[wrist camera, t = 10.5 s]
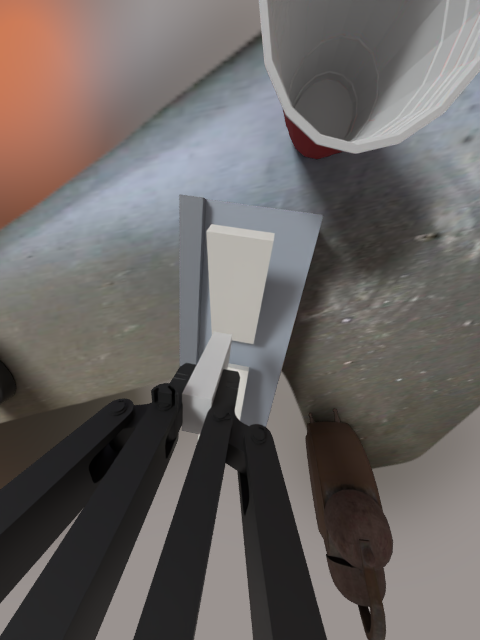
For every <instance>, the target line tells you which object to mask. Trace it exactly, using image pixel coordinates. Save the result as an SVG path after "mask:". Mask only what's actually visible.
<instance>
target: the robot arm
mask: <svg viewBox="0 0 480 640" xmlns="http://www.w3.org/2000/svg"><path fill="white" fill-rule="evenodd" d="M231 343H232V335H231V334H225V333H219V332H213V334H212V336H211V338H210V340H209V342H208V344H207V346H206V348H205V350H204V352H203V354H202V356H201V358H200V360H199V362H198V363H197V365H196V364H191V363H185V364H183V365H182V366H180V368H179V369H178V371H177V372H176V374H175V376H174V378H173V379H172V380H171V382H170V383H164V384H159V385H158V386H156V387H154V388H153V389H152V390H151V393H152V403H150V404H144V405H134V404H133V402H132V401H131V400H129V399H118V400H115V401H112V402H111V403H109V404H108V405H107V406H105V407H104V408H103V409H101V410H100V411H99V412H98V413H96V414H95V415H94V416H93V417H91V418H90V419H89V420H87V421H86V422H85V423H84V424H82V425H81V426H80V427H79V428H77V429H76V430H75V431H74V432H72V433H71V434H70V435H69V436H67V437H66V438H65V439H64V440H62V441H61V442H60V443H59V444H57V445H56V446H55V447H53V448H52V449H51V450H50V451H48V452H47V453H46V454H45V455H43V456H42V457H41V458H40V459H38V460H37V461H36V462H35V463H33V464H32V465H31V466H30V467H29V468H27V469H26V470H24V471H23V472H22V473H21V474H19V475H18V476H17V477H16V478H14V479H13V480H12V481H11V482H9V483H8V484H7V485H6V486H4V487H3V488H2V489H0V603H1V602H2V601H3V600H4V598H5V597H6V596H7V595H8V594H9V593H10V591H11V590H12V589H13V588H14V587H15V586H16V585H17V583H18V582H19V581H20V580H21V579H22V577H24V575H25V574H26V573H27V572H28V571H29V570H30V569H31V567H32V566H33V565H34V564H35V563H36V562H37V561H38V559H39V558H40V557H41V556H42V555H43V554H44V552H45V551H46V550H47V549H48V548H49V547H50V545H51V544H52V543H53V542H54V541H55V540H56V539H57V538H58V536H59V535H60V534H61V533H62V532H63V531H64V530H65V528H66V527H67V526H68V525H69V524H70V523H71V522H72V520H73V519H74V518H75V517H76V516H77V515H78V513H79V512H80V511H81V510H82V509H83V510H82V511H81V513H80V514H79V516H78V518H77V519H76V520H75V522H74V524H73V525H72V527H71V528H70V530H69V531H68V533H67V534H66V536H65V538H64V539H63V541H62V542H61V544H60V545H59V547H58V548H57V550H56V551H55V553H54V554H53V556H52V557H51V559H50V560H49V562H48V564H47V565H46V567H45V568H44V570H43V571H42V573H41V574H40V576H39V577H38V579H37V580H36V582H35V583H34V585H33V587H32V588H31V590H30V591H29V593H28V594H27V596H26V597H25V599H24V600H23V602H22V604H21V605H20V607H19V608H18V610H17V611H16V613H15V614H14V616H13V617H12V619H11V620H10V622H9V623H8V625H7V627H6V628H5V630H4V631H3V633H2V634H1V636H0V640H95V639H96V636H97V634H98V631H99V629H100V626H101V624H102V622H103V619H104V617H105V615H106V612H107V610H108V607H109V605H110V602H111V600H112V597H113V595H114V593H115V590H116V588H117V586H118V583H119V581H120V578H121V576H122V574H123V571H124V569H125V566H126V564H127V562H128V559H129V556H130V554H131V552H132V549H133V547H134V545H135V542H136V540H137V537H138V535H139V533H140V530H141V528H142V525H143V523H144V520H145V518H146V516H147V513H148V511H149V509H150V506H151V504H152V501H153V499H154V497H155V494H156V492H157V489H158V487H159V484H160V482H161V479H162V477H163V475H164V472H165V470H166V468H167V465H168V463H169V460H170V458H171V456H172V453H173V451H174V448H175V446H176V444H177V441H178V432H179V430H180V428H181V426H182V431H186V432H191V433H196V434H200V436H199V439H198V442H197V445H196V449H195V452H194V455H193V458H192V461H191V464H190V467H189V470H188V473H187V476H186V479H185V482H184V485H183V488H182V491H181V495H180V498H179V501H178V504H177V507H176V510H175V513H174V516H173V519H172V522H171V525H170V528H169V531H168V534H167V537H166V541H165V544H164V547H163V550H162V553H161V556H160V559H159V562H158V565H157V568H156V571H155V574H154V577H153V581H152V583H151V587H150V590H149V593H148V596H147V599H146V602H145V605H144V608H143V611H142V614H141V617H140V620H139V623H138V627H137V630H136V633H135V636H134V639H133V640H194V636H195V630H196V624H197V619H198V613H199V608H200V602H201V597H202V591H203V585H204V580H205V574H206V569H207V563H208V557H209V552H210V546H211V540H212V535H213V530H214V524H215V519H216V513H217V508H218V502H219V496H220V490H221V485H222V480H223V474H224V468H225V463H226V464H228V465H230V466H231V467H233V468H234V469H236V470H237V471H238V481H239V492H240V503H241V513H242V523H243V534H244V545H245V556H246V566H247V578H248V589H249V599H250V610H251V621H252V630H253V640H327V638H326V634H325V631H324V627H323V623H322V619H321V615H320V612H319V608H318V605H317V601H316V597H315V593H314V590H313V586H312V582H311V578H310V575H309V571H308V567H307V563H306V560H305V556H304V552H303V549H302V545H301V541H300V537H299V534H298V530H297V526H296V523H295V519H294V515H293V512H292V508H291V504H290V500H289V496H288V493H287V489H286V486H285V482H284V478H283V474H282V470H281V467H280V463H279V460H278V456H277V452H276V448H275V445H274V441H273V437H272V435H271V433H270V431H269V430H268V429H267V428H266V427H265V426H263V425H260V424H253V425H250V426H248V425H246V424H244V423H242V422H241V421H240V420H239V419H238V418H237V416H236V414H235V406H236V400H237V395H238V388H239V382H240V375H239V373H238V372H237V371H232V370H227V368H228V365H229V359H230V351H231ZM15 389H16V388H15V382H14V379H13V377H12V375H11V374H10V372H9V371H8V369H7V368H6V367H5V366H4V365H3V364H2V362H0V404H1V403H3V402H4V401H6V400H7V399H9V398H10V397H12V396H13V395H14V393H15Z"/></svg>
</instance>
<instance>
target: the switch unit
mask: <svg viewBox="0 0 480 640" xmlns="http://www.w3.org/2000/svg"><path fill="white" fill-rule="evenodd" d="M179 200H180V366H182V365H183V364H185V363H191V364H196V365H197V363H198V362H199V360H200V358H201V356H202V354H203V352H204V350H205V348H206V346H207V344H208V342H209V340H210V338H211V336H212V329H211V310H210V291H209V272H208V253H207V234H206V231H207V230H208V228H209V227H210V225H211V224H214V225H221V226H228V227H235V228H242V229H249V230H256V231H263V232H270V233H275V235H274V242H273V247H272V252H271V257H270V262H269V267H268V273H267V278H266V283H265V288H264V293H263V298H262V303H261V308H260V313H259V318H258V324H257V329H256V334H255V339H254V344H250V343H244V342H239V341H233V340H232V343H231V351H230V359H229V363H230V364H236V365H241V366H246V367H249V372H248V377H247V383H246V389H245V394H244V400H243V405H242V411H241V417H240V421H241V422H242V423H244V424H246V425H248V426H250V425H253V424H260V425H263V426H265V427H266V425H267V421H268V418H269V414H270V410H271V406H272V402H273V399H274V395H275V391H276V388H277V384H278V380H279V377H280V374H281V370H282V367H283V363H284V358H285V355H286V351H287V347H288V344H289V340H290V336H291V333H292V330H293V326H294V322H295V319H296V315H297V311H298V307H299V303H300V299H301V296H302V292H303V288H304V285H305V281H306V277H307V274H308V270H309V266H310V263H311V260H312V256H313V253H314V249H315V245H316V242H317V238H318V234H319V231H320V226H321V222H322V219H323V215H319V214H312V213H305V212H297V211H290V210H282V209H275V208H268V207H260V206H253V205H245V204H238V203H231V202H223V201H216V200H208V199H205V198H201V197H194V196H186V195H179Z"/></svg>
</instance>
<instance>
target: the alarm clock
mask: <svg viewBox="0 0 480 640" xmlns="http://www.w3.org/2000/svg"><path fill="white" fill-rule="evenodd" d="M333 412H334V419H335V422H329V421H322V422H314V420H313V417H312V413H309V416H310V423H307V435H306V449H307V458H308V466H309V473H310V481H311V487H312V494H313V501H314V507H315V513H316V519H317V524H318V529H319V532H320V534H321V535H322V537H323V539H324V543H325V547H326V551H327V554H326V557H327V562H328V567H329V570H330V573H331V577H332V579H333V582H334V584H335V586H336V587H337V589H338V590H339V591H340V592H341V593H342V595H343V596H344V597H345V598H347V599H348V600H349V601H351V602H353V603H355V604H357V605H358V607H359V611H360V615H361V619H362V623H363V626H364V630H365V633H366V636H367V638H368V640H385V635H386V624H385V613H384V608H383V603H382V600H383V598H384V595H385V591H386V582H385V574H384V568H383V567H385V566H386V564H387V563H388V562H389V560H390V558H391V555H392V552H393V551H392V550H393V539H392V535H391V531H390V527H389V524H388V521H387V519H386V517H385V515H384V513H383V510H382V505H381V501H380V497H379V493H378V488H377V485H376V481H375V478H374V474H373V471H372V469H371V466H370V463H369V460H368V458H367V455H366V453H365V450H364V448H363V446H362V444H361V442H360V440H359V438H358V436H357V435H356V433H355V432H354V431H353V430H352V428H351V427H350V426H349V425H348V424H347V423H341V422H340V419H339V417H338V414H337V409H333ZM368 607H370V612H369V609H368Z"/></svg>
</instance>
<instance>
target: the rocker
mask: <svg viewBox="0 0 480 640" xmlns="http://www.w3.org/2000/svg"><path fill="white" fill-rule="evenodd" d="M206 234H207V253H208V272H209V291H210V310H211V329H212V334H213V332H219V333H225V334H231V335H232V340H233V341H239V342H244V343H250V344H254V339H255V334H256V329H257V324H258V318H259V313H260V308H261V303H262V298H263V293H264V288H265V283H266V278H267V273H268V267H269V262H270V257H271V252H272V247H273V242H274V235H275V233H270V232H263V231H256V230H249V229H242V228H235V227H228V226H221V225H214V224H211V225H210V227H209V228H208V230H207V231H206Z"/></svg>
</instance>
